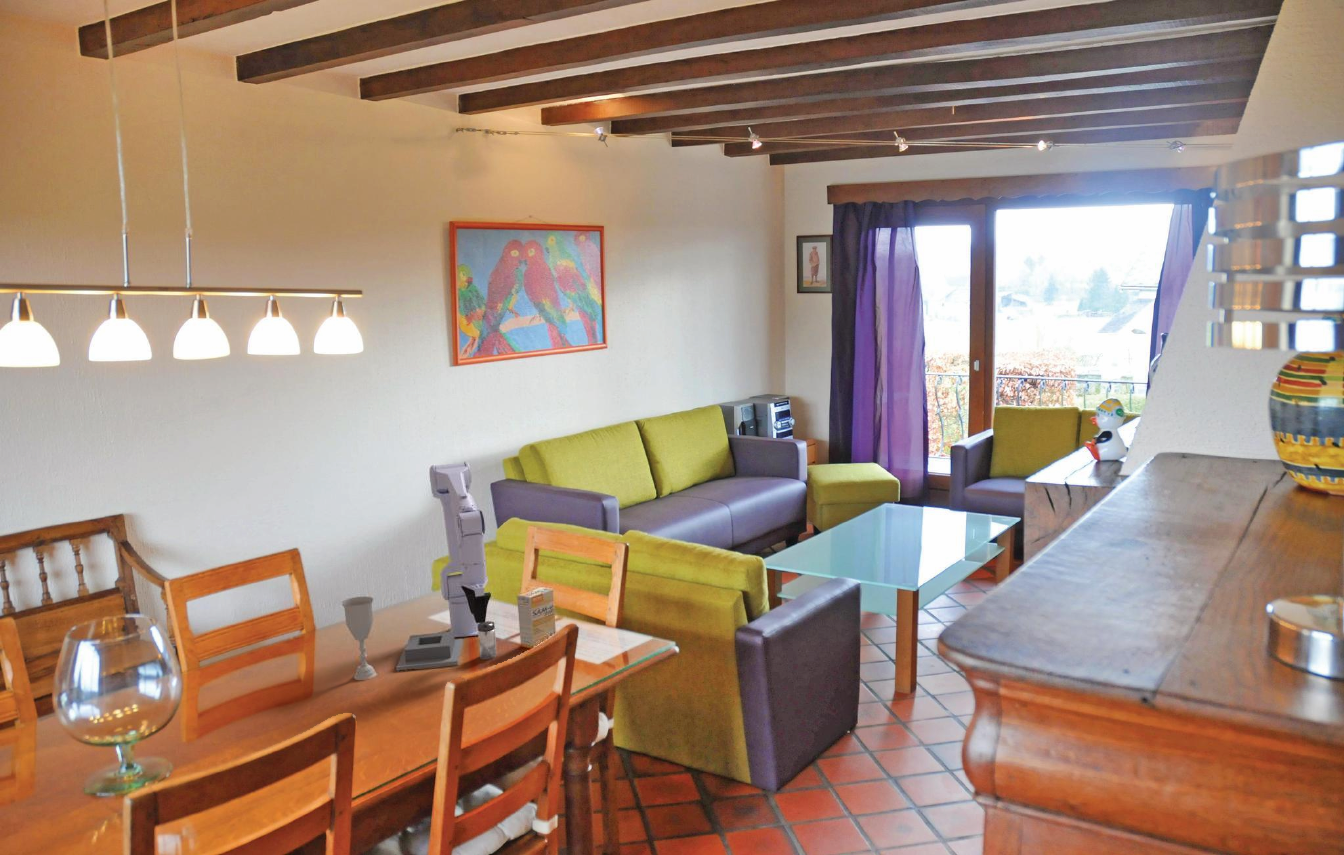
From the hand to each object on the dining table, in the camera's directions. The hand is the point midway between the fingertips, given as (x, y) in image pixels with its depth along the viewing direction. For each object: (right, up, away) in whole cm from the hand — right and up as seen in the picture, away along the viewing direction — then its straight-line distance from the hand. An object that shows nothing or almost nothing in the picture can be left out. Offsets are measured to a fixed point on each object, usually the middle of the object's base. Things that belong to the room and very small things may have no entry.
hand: (478, 617), depth 239 cm
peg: (+2, -10, +3) cm, 11 cm away
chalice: (-25, -13, -5) cm, 29 cm away
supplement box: (+13, -8, +10) cm, 19 cm away
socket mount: (-12, -10, +5) cm, 17 cm away
